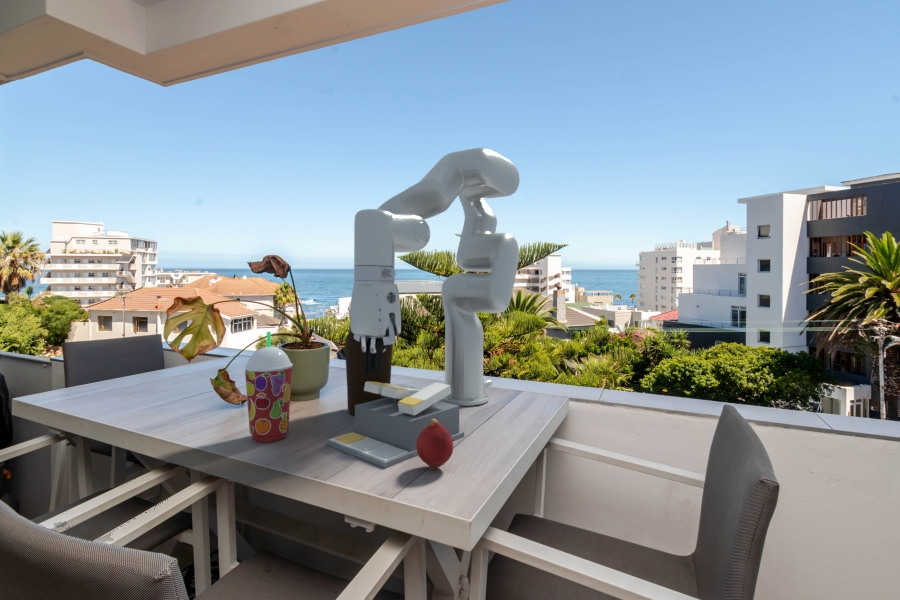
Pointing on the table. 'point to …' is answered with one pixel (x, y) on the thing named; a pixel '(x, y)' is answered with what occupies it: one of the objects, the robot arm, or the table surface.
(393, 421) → the switch unit
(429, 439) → the onion
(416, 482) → the table surface
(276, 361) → the smoothie
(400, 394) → the rocker
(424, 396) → the rocker
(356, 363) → the olive oil
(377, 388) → the rocker
